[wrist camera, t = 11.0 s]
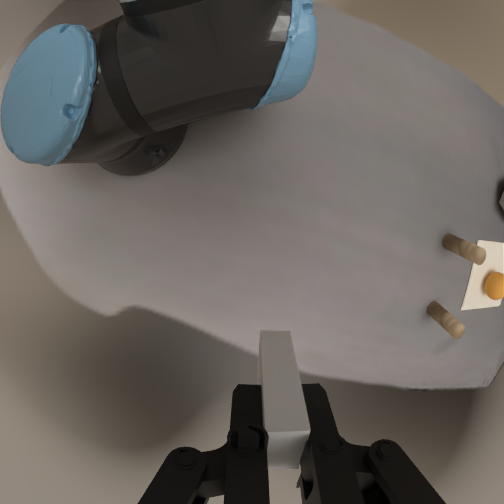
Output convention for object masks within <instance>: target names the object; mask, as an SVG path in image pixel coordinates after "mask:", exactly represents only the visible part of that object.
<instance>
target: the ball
mask: <svg viewBox="0 0 504 504" xmlns="http://www.w3.org/2000/svg"><path fill="white" fill-rule="evenodd" d="M485 291H486V294H487V296H488V297H489V298H491V299H493V300H499V299H501V298H503V297H504V274H502V273H500V272H494V273H492V274H490V275H489V276H488V278H487V279H486V282H485Z"/></svg>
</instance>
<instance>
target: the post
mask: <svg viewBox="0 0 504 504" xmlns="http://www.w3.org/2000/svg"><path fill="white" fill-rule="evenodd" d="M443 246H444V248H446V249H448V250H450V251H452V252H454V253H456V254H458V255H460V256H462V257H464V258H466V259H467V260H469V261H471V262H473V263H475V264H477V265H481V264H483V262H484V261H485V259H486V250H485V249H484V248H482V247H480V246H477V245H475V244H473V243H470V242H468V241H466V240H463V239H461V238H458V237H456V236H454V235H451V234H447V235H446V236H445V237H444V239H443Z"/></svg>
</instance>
